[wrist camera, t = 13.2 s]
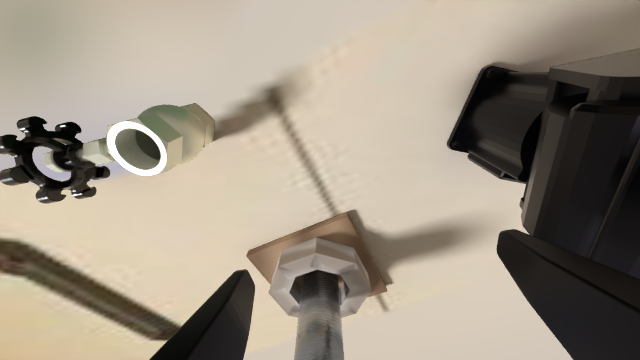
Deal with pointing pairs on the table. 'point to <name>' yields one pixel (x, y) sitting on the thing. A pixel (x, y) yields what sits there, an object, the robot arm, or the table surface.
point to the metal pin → (319, 318)
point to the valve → (107, 149)
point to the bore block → (319, 264)
